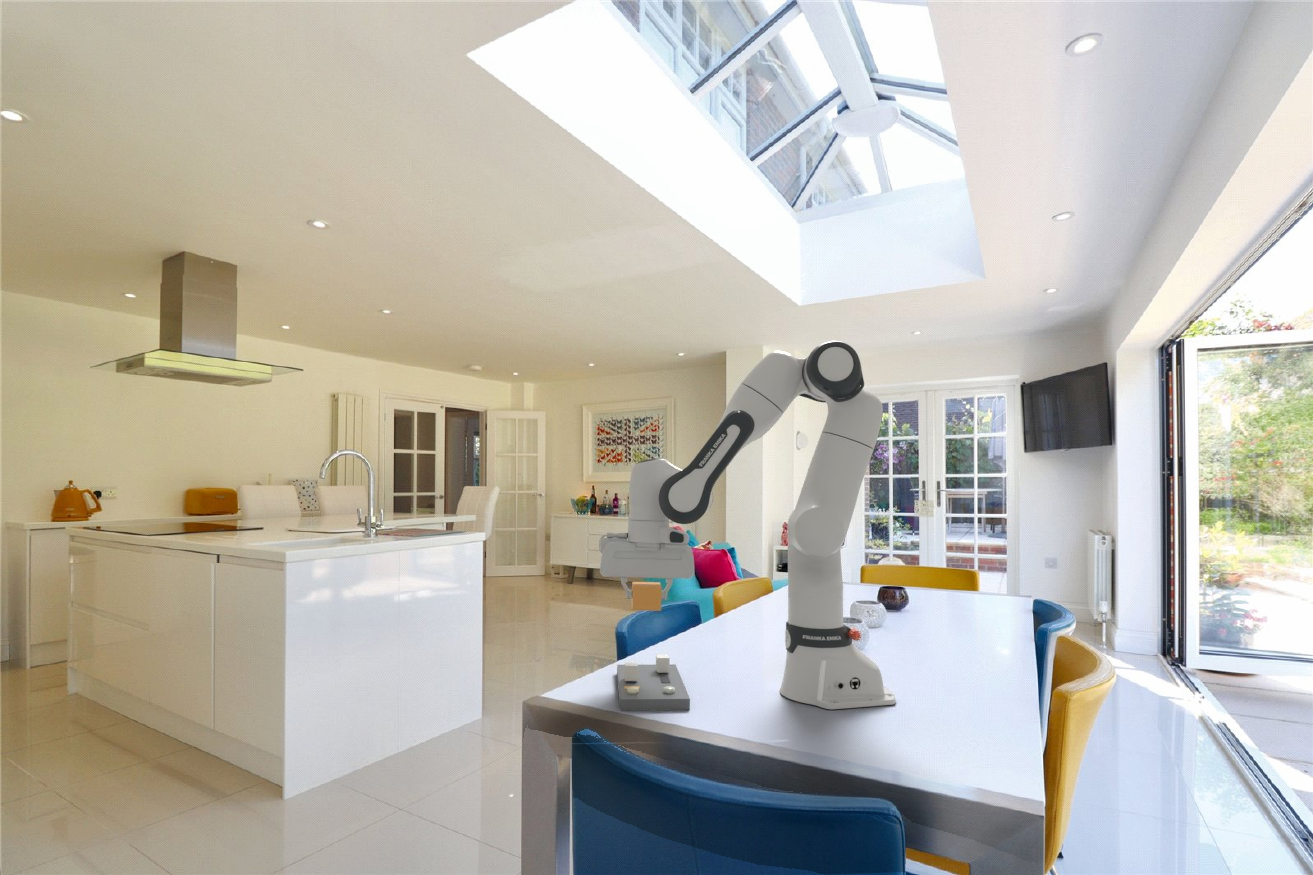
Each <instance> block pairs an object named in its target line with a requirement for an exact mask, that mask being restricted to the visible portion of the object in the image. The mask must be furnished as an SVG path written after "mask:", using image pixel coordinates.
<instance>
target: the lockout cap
mask: <svg viewBox="0 0 1313 875" xmlns="http://www.w3.org/2000/svg"><path fill="white" fill-rule="evenodd" d="M631 584H632V585H631V590H632V591H633V593H632V599H631V610H632V611H649V612H650V611H653V612H654V611H655V612H658V611H659V612H661V611H662V600H661V592H662V590H663V589H662V588H663V587H662V585H661V582H660V581H659V582H657V581H656V582H655V581H632V583H631Z"/></svg>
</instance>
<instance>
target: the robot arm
mask: <svg viewBox="0 0 1313 875" xmlns="http://www.w3.org/2000/svg"><path fill="white" fill-rule="evenodd" d="M862 369H863V368H862V363H861V360H860V357H859V355H858V353H857V351H856V350H855V349H854V348H853V347H852V346H851V345H849V344H848V343H847V342H843V341H839V340H830V341H827V342H823V343H821V344H819V345H817V346H815V347H814V348H813V350H812V351H811V352H810V353H809V355H808V356H807V357H805V358H804V357H803V358H798V357H795V356H794V355H792V353H788V352H786V351H782V350H774V351H771V352H769V353H768V354H767V355H765V356H764V357H763V358H762V359H761V360H760V361H759V362H758V363H757V364H756V365H755V366H754V367H753V368H752V369H751V370H750V372H749V373H748V374H747V375H746V376H745V377H744V379H743V380H742V381H741V383H740V384H739V386H738V387H737V388H736V390H735V391H734V393H733V394H732V396H731V398H730V400H729V401H728V403H727V405H726V408H725V410H724V412H723V415H722V416H721V418H720V421H719V423H718V424H717V427H716V428H715V430H714V432H713V433H712V434H711V435H710V437H709V438H708V440H707V441H706V442H705V444H704V445H703V446H702V448H701V449H700V450H699V452H698V453H697V454H696V456H694V458H693V459H692V461H690V463H689V464H688V465H687V466H686V467H685V468H683V469H682V468H679V467H677V466H676V465H674V464H672V463H671V462H670V461H668V459H666V458H663V457H662V458H661V457H657V458H649V459H648V458H647V459H644V460H643V459H642V460H639V461H638V462H637V463H635V464H634V465H633V467H632V469H631V473H630V477H629V487H628V501H629V508H630V509H629V513H628V518H627V532H607V533H606V534H603V535H602V536H601V537H600V539H599V543H598V544H599V546H598V548H599V551H600V553H601V557H600V558H601V559H600V565H599V573H600V575H601V576H602V577H604V578H620V583H621V585H622V588H623V589H624V591H625V598H624V599H626V600H632V593H633V591H632V589H629V587H628V584H626V583H628V578H642V579H643V578H644V579H647V578H649V579H665V584H666V585H665V588H664V589H662V592H661V601H662V600H665V601H667V600H668V592H669V590H670V589H671V588H672V586H673V584H674V583H673V582H674V579H688V580H689V579H692V578H693V576H694V575H695V559H694V552H693V550H692V549H693V548H691V546H690V545H689V542H690V535H689V534H688V532H685V531H683V530H679V529H678V528H676V527H670V521H671V522H673V523H675V524H678V525H679V524H680V525H688V524H689V525H690V524H693V523H695V522H697V521H698V520H700V519H701V518H703V516H705V514H707V513H708V512H709V510H710V509H711V507H712V506H713V501H714V493H713V488H714V487H715V484H716V482H717V481H718V480H719V478H720V477H721V476H722V474H723V473H724V472H725V470H726V469H727V467H728V466H730V464H731V462H732V461H733V460H734V458H735V457H736V456H737V455H738V453H740V452H741V450H743V449H744V448H745V447H747V446H748V445H749V444H751V443H753V442H755V441H757V440H759V439H761V438H762V437H763V436H765V435H766V434H767V433H768V432H769V431H770V430H771V429H772V428H773V427H774V426H775V425H776V424H777V423H778V421H779V420H780V418H781V417H782V416H783V414H785V412H786V410H787V409H788V407H789V406H791V404H792V402H793V401H794V400H795V399H797V397H798V396H799V397H803V398H805V399H809V400H812V401H815V402H817V403H825V404H826V405H827V416H826V419H825V422H824V425H823V428H822V431H821V432H820V433H821V434H820V436H819V439H818V441H817V445H816V447H815V450H814V452H813V455H812V457H811V461H810V463H809V466H808V469H807V473H806V476H805V479H804V481H803V484H802V487H801V489H800V490H801V491H800V493H799V496H798V500H797V502H796V505H795V508H794V509H793V510H792V512H791V514H790V515H789V516H788V517H789V518H788V520H787V579H788V580H787V621H786V622H785V632H784V635H785V636H784V637H785V638H784V643H785V649H786V656H785V657H786V658H785V666H784V672H783V677H782V681H781V684H780V688H779V693H780V695H782V696H783V697H785V698H787V699H789V700H792V701H795V702H798V703H803V704H807V705H812V706H817V707H820V708H822V709H827V710H841V709H853V708H855V709H856V708H863V707H864V708H866V707H878V706H879V707H880V706H889V705H895V704H896V702H897V701H896V696H895V693H894V692H893V691H891V690H890V689H889V688H887V687H886V686H884V681H883V676H882V673H881V669H880V668H879V666H878V665H877V663H876V662H874V661H873V660H872V659H871V658H870V657H869V656H867V655H866V654H865V653H864V652H863V651H862V650H861V649H859V648H857V646H855V645H854V644H853V641H856V642H857V641H860V640H861V639H862V633H861V632H860V631H859V630H857V629H855V628H850V627H848V626H847V625H845V624H844V584H843V583H844V582H843V571H842V556H841V548H842V546H843V545H844V542H845V540H846V538H847V534H848V531H849V528H850V525H851V521H852V519H853V514H854V511H855V508H856V505H857V504H856V503H857V501H858V497H859V493H860V490H861V489H860V488H861V486H862V483H863V480H864V478H865V475H866V472H867V469H868V466H869V464H870V461H871V457H872V455H873V453H874V449H875V447H876V444H877V441H878V438H879V434H880V429H881V424H882V419H883V412H884V408H883V407H884V406H883V403H882V401H881V400H880V399H879V398H878V397H877V396H876V395H874V394H873V393H871V392H870V391H868V390H865V389H864V387H865V381H864V380H865V379H864V375H863V370H862Z"/></svg>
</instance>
